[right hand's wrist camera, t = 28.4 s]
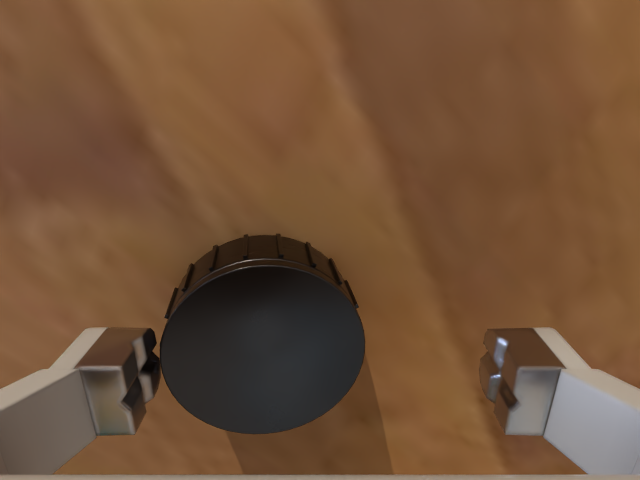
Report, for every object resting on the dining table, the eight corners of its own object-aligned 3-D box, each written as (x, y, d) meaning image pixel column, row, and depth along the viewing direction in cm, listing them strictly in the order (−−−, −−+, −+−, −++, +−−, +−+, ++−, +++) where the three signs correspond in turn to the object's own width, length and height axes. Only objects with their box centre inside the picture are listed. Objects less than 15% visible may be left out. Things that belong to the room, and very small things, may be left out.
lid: (131, 288, 11) (108, 330, 10) (301, 197, 11) (310, 222, 9) (233, 411, 13) (230, 464, 12) (378, 337, 13) (398, 379, 11)
